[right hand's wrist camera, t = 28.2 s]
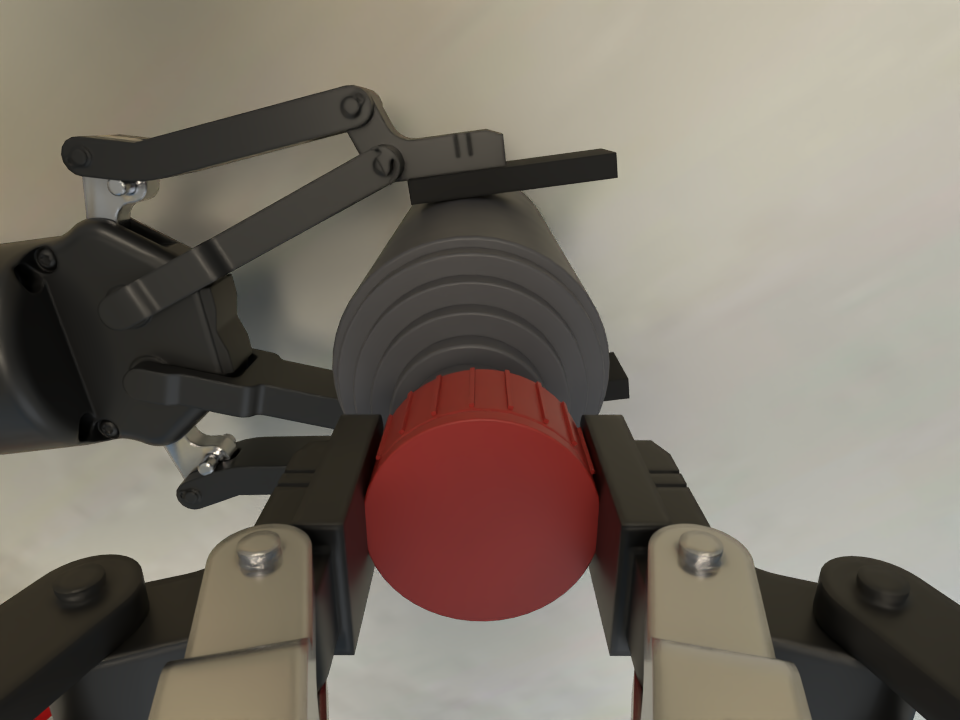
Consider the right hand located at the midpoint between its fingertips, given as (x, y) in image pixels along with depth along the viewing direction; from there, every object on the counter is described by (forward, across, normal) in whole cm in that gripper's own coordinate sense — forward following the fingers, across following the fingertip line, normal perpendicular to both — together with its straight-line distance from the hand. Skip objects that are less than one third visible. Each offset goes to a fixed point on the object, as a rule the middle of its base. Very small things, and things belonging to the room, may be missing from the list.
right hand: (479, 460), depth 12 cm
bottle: (+18, 0, 0) cm, 18 cm away
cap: (-2, 0, 0) cm, 2 cm away
